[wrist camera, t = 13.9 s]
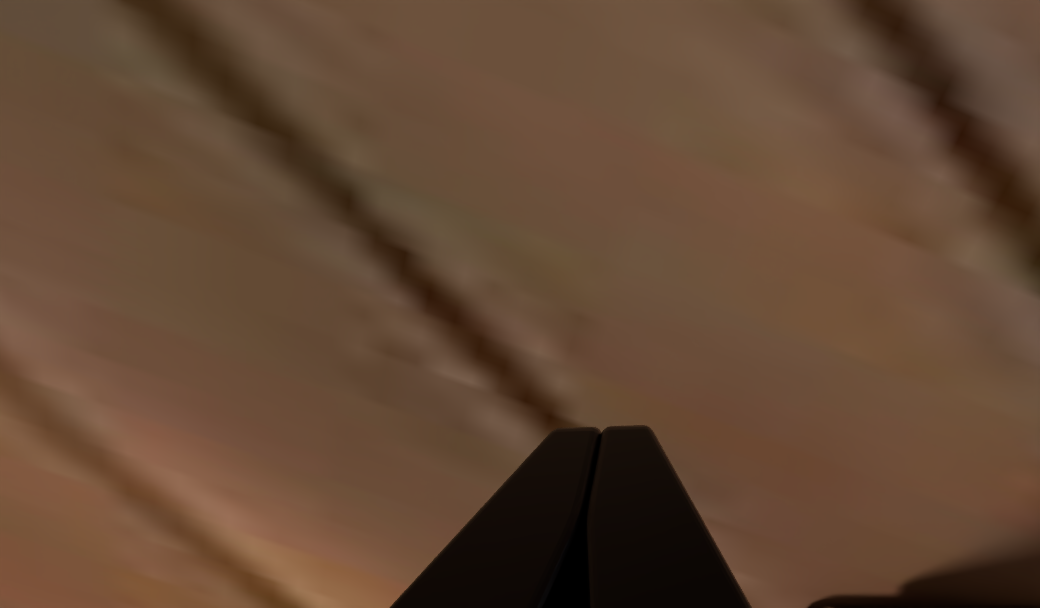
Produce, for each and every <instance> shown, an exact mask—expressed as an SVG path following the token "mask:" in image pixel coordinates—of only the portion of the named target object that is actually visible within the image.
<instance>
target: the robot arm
mask: <svg viewBox="0 0 1040 608" xmlns="http://www.w3.org/2000/svg"><path fill="white" fill-rule="evenodd" d="M390 608H752V607H751V606H750V604H749V602H748V600H747V598H746V597H745V595H744V593H743V591H742V589H741V588H740V586H739V584H738V582H737V580H736V579H735V577H734V575H733V573H732V572H731V570H730V568H729V566H728V564H727V563H726V561H725V559H724V557H723V555H722V554H721V552H720V550H719V548H718V547H717V545H716V543H715V541H714V539H713V538H712V536H711V534H710V532H709V530H708V529H707V527H706V525H705V523H704V521H703V520H702V518H701V516H700V514H699V513H698V511H697V509H696V507H695V505H694V504H693V502H692V500H691V498H690V496H689V495H688V493H687V491H686V489H685V488H684V486H683V484H682V482H681V480H680V479H679V477H678V475H677V473H676V471H675V470H674V468H673V466H672V464H671V462H670V461H669V459H668V457H667V455H666V454H665V452H664V450H663V448H662V446H661V445H660V443H659V441H658V439H657V437H656V436H655V434H654V432H653V431H652V430H651V428H650V427H648V426H645V425H634V426H610V427H607V428H606V429H604V430H603V432H602V433H601V431H600V430H599V429H598V428H596V427H574V428H558V429H555V430H554V431H552V432H551V433H550V434H549V435H548V436H547V437H546V438H545V439H544V440H543V441H542V442H541V444H540V445H539V446H538V447H537V448H536V449H535V450H534V451H533V452H532V453H531V454H530V456H529V457H528V458H527V459H526V460H525V461H524V462H523V463H522V464H521V465H520V466H519V467H518V469H517V470H516V471H515V472H514V473H513V474H512V475H511V476H510V477H509V478H508V479H507V481H506V482H505V483H504V484H503V485H502V486H501V487H500V488H499V489H498V490H497V491H496V493H495V494H494V495H493V496H492V497H491V498H490V499H489V500H488V501H487V502H486V503H485V504H484V506H483V507H482V508H481V509H480V510H479V511H478V512H477V513H476V514H475V515H474V516H473V518H472V519H471V520H470V521H469V522H468V523H467V524H466V525H465V526H464V527H463V528H462V529H461V531H460V532H459V533H458V534H457V535H456V536H455V537H454V538H453V539H452V540H451V541H450V543H449V544H448V545H447V546H446V547H445V548H444V549H443V550H442V551H441V552H440V553H439V554H438V556H437V557H436V558H435V559H434V560H433V561H432V562H431V563H430V564H429V565H428V566H427V568H426V569H425V570H424V571H423V572H422V573H421V574H420V575H419V576H418V577H417V578H416V579H415V581H414V582H413V583H412V584H411V585H410V586H409V587H408V588H407V589H406V590H405V591H404V593H403V594H402V595H401V596H400V597H399V598H398V599H397V600H396V601H395V602H394V603H393V605H392V606H391V607H390Z"/></svg>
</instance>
